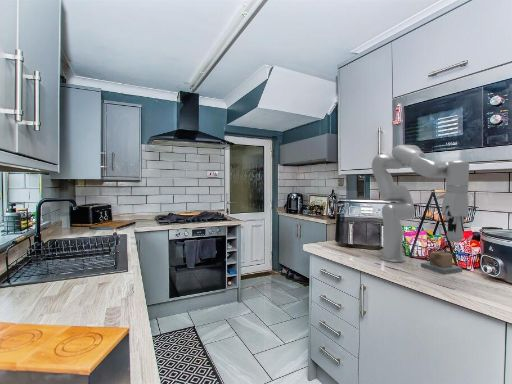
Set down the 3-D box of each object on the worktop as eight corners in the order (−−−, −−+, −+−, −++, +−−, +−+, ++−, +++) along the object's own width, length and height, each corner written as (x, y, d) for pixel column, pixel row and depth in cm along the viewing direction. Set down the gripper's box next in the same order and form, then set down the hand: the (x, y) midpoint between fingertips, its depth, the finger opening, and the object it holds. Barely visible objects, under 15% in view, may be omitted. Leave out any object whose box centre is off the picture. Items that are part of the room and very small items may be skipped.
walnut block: (429, 264, 134) (430, 252, 134) (439, 262, 136) (439, 251, 136) (442, 267, 128) (442, 255, 128) (452, 266, 130) (452, 254, 130)
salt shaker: (443, 240, 116) (444, 210, 115) (452, 239, 118) (453, 209, 117) (457, 243, 110) (458, 212, 110) (466, 242, 112) (467, 211, 112)
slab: (420, 266, 136) (420, 263, 136) (437, 264, 140) (437, 260, 140) (444, 274, 124) (444, 270, 124) (462, 271, 128) (462, 267, 128)
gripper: (460, 189, 119) (459, 230, 120) (434, 189, 114) (432, 232, 115) (479, 190, 112) (477, 233, 113) (452, 190, 107) (450, 235, 108)
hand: (454, 232), depth 114 cm, fingers closed on salt shaker, 3 cm apart
